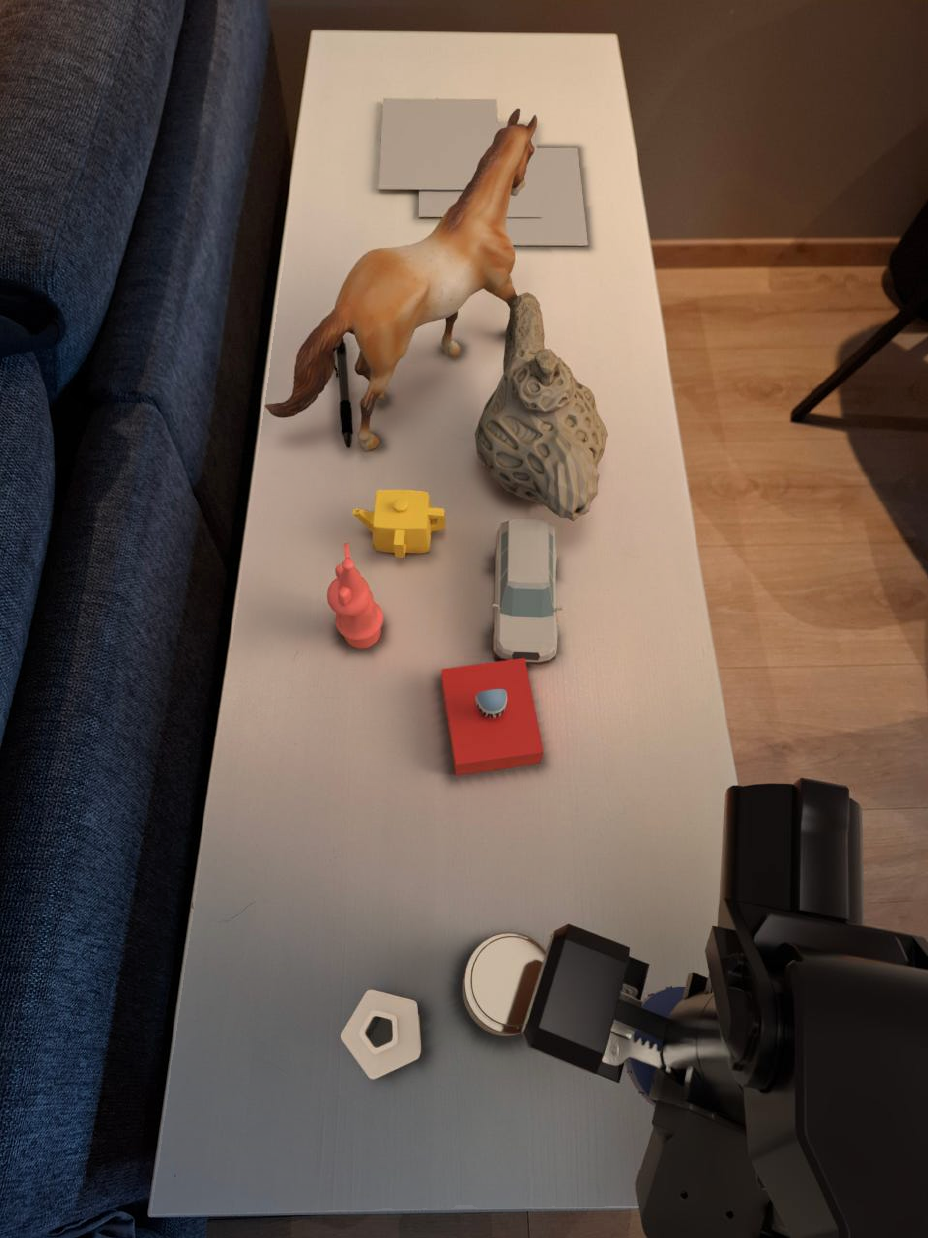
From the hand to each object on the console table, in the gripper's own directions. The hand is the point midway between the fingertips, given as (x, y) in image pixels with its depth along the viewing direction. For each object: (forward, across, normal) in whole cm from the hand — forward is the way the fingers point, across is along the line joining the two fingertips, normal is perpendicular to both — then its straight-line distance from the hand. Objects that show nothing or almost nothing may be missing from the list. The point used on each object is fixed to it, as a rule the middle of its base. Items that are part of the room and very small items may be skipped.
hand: (676, 1052), depth 50 cm
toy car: (+10, -19, +30) cm, 37 cm away
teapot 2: (+10, -23, +45) cm, 51 cm away
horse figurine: (+10, -39, +51) cm, 65 cm away
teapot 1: (+10, -31, +32) cm, 46 cm away
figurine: (+10, -31, +23) cm, 40 cm away
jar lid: (-2, 0, 0) cm, 2 cm away
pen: (+10, -43, +46) cm, 64 cm away
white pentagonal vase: (+10, -16, -5) cm, 20 cm away
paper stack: (+10, -42, +83) cm, 93 cm away
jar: (+10, -10, 0) cm, 14 cm away
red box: (+10, -18, +19) cm, 28 cm away
